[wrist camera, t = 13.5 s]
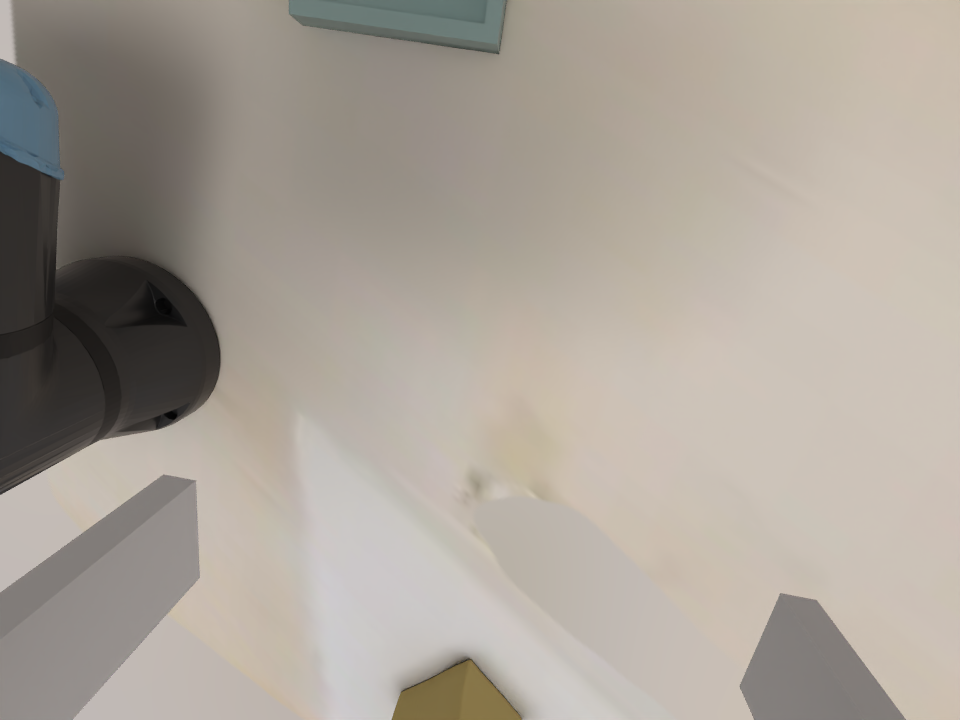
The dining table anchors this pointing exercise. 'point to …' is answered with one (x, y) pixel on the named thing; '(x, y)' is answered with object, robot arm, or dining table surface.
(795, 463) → the dining table surface
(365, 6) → the tray
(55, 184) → the robot arm
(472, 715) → the cheese
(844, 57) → the dining table surface
